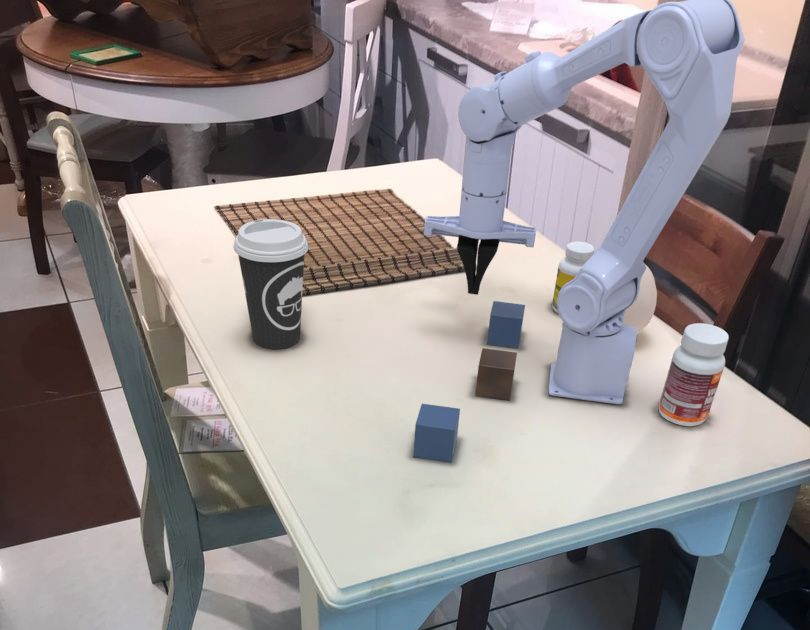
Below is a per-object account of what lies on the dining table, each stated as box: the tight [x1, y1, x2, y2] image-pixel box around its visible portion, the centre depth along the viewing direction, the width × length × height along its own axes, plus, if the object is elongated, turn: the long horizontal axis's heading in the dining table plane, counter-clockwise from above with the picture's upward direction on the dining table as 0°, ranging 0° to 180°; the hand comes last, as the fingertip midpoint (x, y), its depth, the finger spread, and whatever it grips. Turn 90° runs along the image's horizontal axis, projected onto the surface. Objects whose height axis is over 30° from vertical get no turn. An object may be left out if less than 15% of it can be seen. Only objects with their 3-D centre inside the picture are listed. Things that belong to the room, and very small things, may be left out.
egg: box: [623, 265, 658, 335], centre depth 117 cm, size 9×9×12 cm
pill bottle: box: [658, 322, 730, 427], centre depth 102 cm, size 6×6×11 cm
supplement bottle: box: [551, 241, 595, 314], centre depth 124 cm, size 5×5×10 cm
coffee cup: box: [233, 218, 309, 350], centre depth 111 cm, size 10×10×15 cm
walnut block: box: [474, 347, 518, 401], centre depth 107 cm, size 4×4×4 cm
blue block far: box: [486, 300, 526, 349], centre depth 117 cm, size 4×4×4 cm
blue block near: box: [412, 403, 461, 463], centre depth 96 cm, size 4×4×4 cm
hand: (473, 291), depth 115 cm, fingers closed
